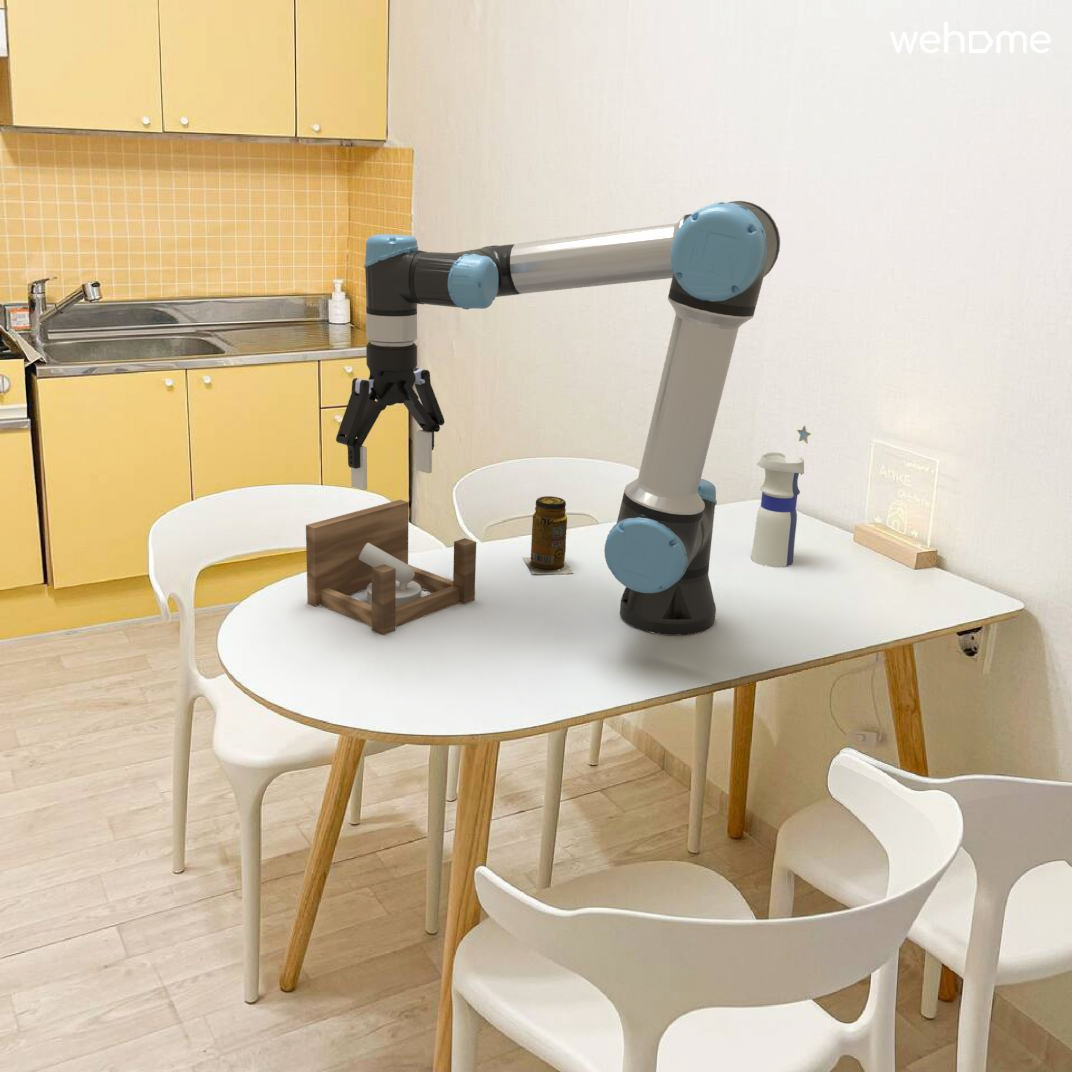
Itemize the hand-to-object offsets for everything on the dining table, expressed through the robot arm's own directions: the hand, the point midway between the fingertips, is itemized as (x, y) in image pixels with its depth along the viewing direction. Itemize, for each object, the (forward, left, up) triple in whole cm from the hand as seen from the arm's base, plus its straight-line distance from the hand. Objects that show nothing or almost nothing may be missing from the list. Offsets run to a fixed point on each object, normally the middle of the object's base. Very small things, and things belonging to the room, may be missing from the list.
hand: (392, 479), depth 179 cm
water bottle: (-33, -64, -21) cm, 75 cm away
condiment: (-7, -31, -21) cm, 38 cm away
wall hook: (0, 0, -21) cm, 21 cm away
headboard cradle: (0, 0, -20) cm, 20 cm away
